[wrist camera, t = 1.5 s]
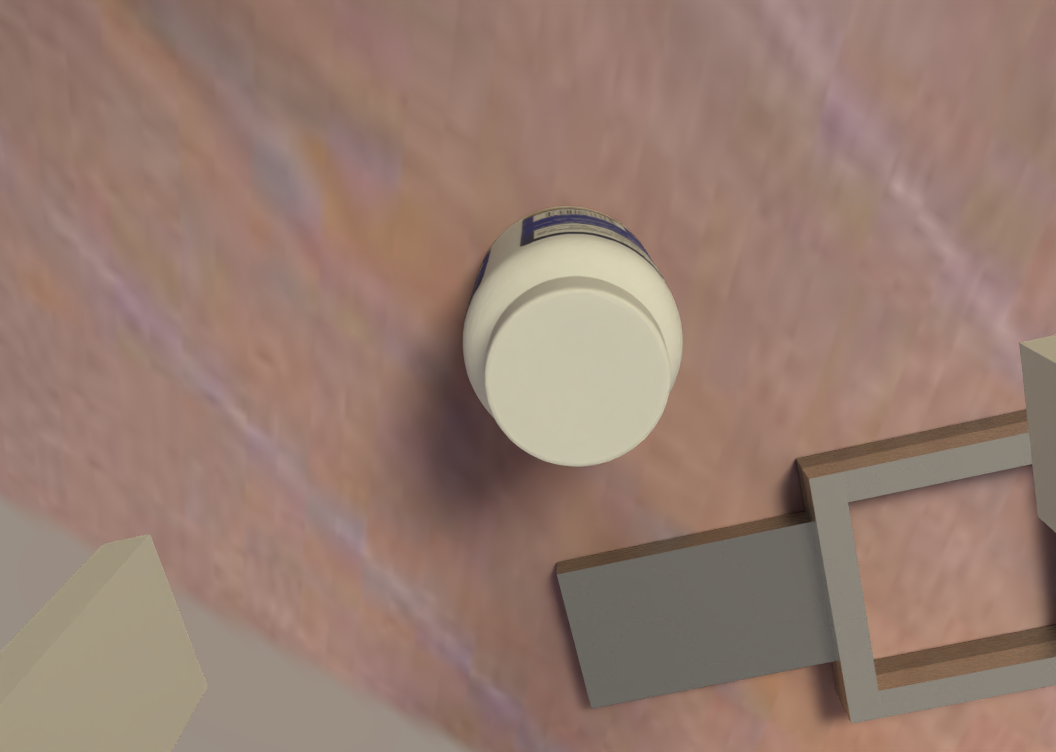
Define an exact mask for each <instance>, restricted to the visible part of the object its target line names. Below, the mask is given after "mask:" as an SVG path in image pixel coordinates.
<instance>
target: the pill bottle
mask: <svg viewBox="0 0 1056 752" xmlns="http://www.w3.org/2000/svg"><path fill="white" fill-rule="evenodd" d="M682 349H683V337H682V327H681V321H680V316H679V312H678V309H677V306H676V303H675V301H674V298H673V296H672V294H671V291H670V290H669V288H668V286H667V284H666V282H665V280H664V279H663V277H662V275H661V274H660V272H659V271H658V269H657V267H656V266H655V264H654V263H653V261H652V260H651V258H650V257H649V255H648V253H647V252H646V250H645V249H644V247H643V246H642V244H641V243H640V242H639V240H638V239H637V238H636V237H635V236H634V235H633V234H632V233H631V232H630V231H629V230H628V229H627V228H626V227H625V226H623V225H622V224H621V223H620V222H618V221H616V220H615V219H613V218H611V217H610V216H608V215H605V214H603V213H601V212H598V211H595V210H592V209H587V208H582V207H574V206H561V207H553V208H547V209H544V210H540V211H538V212H535V213H532V214H530V215H528V216H526V217H524V218H522V219H521V220H519V221H517V222H516V223H514V224H513V225H512V226H510V227H509V228H507V229H506V230H505V231H504V232H503V233H502V234H501V235H500V236H499V237H498V239H497V240H496V241H495V242H494V244H493V245H492V246H491V248H490V249H489V251H488V253H487V255H486V257H485V259H484V261H483V263H482V265H481V268H480V270H479V273H478V276H477V280H476V283H475V286H474V289H473V293H472V296H471V299H470V303H469V306H468V309H467V313H466V317H465V322H464V327H463V355H464V362H465V367H466V371H467V375H468V378H469V380H470V383H471V385H472V387H473V389H474V391H475V393H476V395H477V397H478V398H479V400H480V401H481V403H482V404H483V406H484V407H485V408H486V410H487V411H488V412H489V414H490V415H491V416H492V417H493V418H494V419H495V421H496V423H497V424H498V425H499V427H500V428H501V430H502V431H503V432H504V433H505V435H506V436H507V437H508V438H509V439H510V440H511V441H512V442H513V443H514V444H516V445H517V446H518V447H519V448H521V449H522V450H524V451H525V452H527V453H528V454H530V455H532V456H534V457H536V458H538V459H540V460H543V461H546V462H549V463H553V464H557V465H563V466H572V467H582V466H592V465H597V464H601V463H605V462H608V461H611V460H613V459H616V458H618V457H620V456H622V455H624V454H626V453H627V452H629V451H630V450H632V449H633V448H635V447H636V446H637V445H638V444H639V443H641V442H642V441H643V440H644V439H645V438H646V437H647V436H648V435H649V434H650V432H651V431H652V430H653V428H654V427H655V426H656V424H657V423H658V421H659V419H660V417H661V415H662V414H663V411H664V409H665V407H666V403H667V400H668V396H669V393H670V391H671V390H672V388H673V385H674V383H675V380H676V377H677V374H678V371H679V367H680V363H681V358H682Z"/></svg>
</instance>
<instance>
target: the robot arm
mask: <svg viewBox="0 0 1056 752" xmlns="http://www.w3.org/2000/svg"><path fill="white" fill-rule="evenodd" d="M1019 345H1020V354H1021V364H1022V373H1023V382H1024V392H1025V401H1026V410H1027V420H1028V429H1029V439H1030V448H1031V457H1032V467H1033V476H1034V485H1035V495H1036V504H1037V514H1038V517H1039V518H1040V519H1041V520H1042V521H1043V522H1044V523H1045V524H1047V525H1048V526H1049V527H1050V528H1051V529H1052V530H1053V531H1054V532H1056V335H1053V336H1048V337H1044V338H1039V339H1035V340H1030V341H1025V342H1021V343H1019ZM207 687H208V686H207V683H206V680H205V678H204V675H203V673H202V670H201V667H200V665H199V662H198V660H197V657H196V654H195V652H194V649H193V646H192V644H191V641H190V638H189V636H188V633H187V630H186V628H185V625H184V623H183V620H182V617H181V615H180V612H179V609H178V607H177V604H176V601H175V599H174V596H173V594H172V591H171V588H170V586H169V583H168V580H167V578H166V575H165V572H164V570H163V567H162V565H161V562H160V559H159V557H158V554H157V551H156V549H155V546H154V543H153V541H152V538H151V536H150V534H147V535H142V536H138V537H133V538H129V539H124V540H120V541H115V542H111V543H106V544H103V545H102V546H101V547H100V548H99V549H98V550H97V551H96V552H95V553H94V554H93V555H92V556H91V557H90V558H89V559H88V561H86V562H85V563H84V565H83V566H82V567H81V568H80V569H79V570H78V571H77V572H76V573H75V574H74V575H73V576H72V577H71V578H70V579H69V580H68V581H67V582H66V583H65V584H64V585H63V586H62V588H61V589H60V590H59V591H58V592H57V593H56V594H55V595H54V596H53V597H52V598H51V599H50V600H49V601H48V602H47V603H46V604H45V605H44V606H43V607H42V608H41V610H40V611H39V612H38V613H37V614H36V615H35V616H34V617H33V618H32V619H31V620H30V621H29V622H28V623H27V624H26V625H25V626H24V627H23V628H22V629H21V630H20V631H19V633H18V634H17V635H16V636H15V637H14V638H13V639H12V640H11V641H10V642H9V643H8V644H7V645H6V646H5V647H4V648H3V649H2V650H1V651H0V752H172V750H173V748H174V746H175V745H176V743H177V741H178V739H179V737H180V736H181V733H182V732H183V730H184V729H185V727H186V725H187V723H188V721H189V720H190V718H191V716H192V714H193V712H194V711H195V709H196V707H197V705H198V704H199V702H200V700H201V698H202V696H203V695H204V693H205V691H206V689H207Z"/></svg>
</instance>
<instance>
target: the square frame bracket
mask: <svg viewBox="0 0 1056 752" xmlns="http://www.w3.org/2000/svg"><path fill="white" fill-rule="evenodd" d="M796 462H797V467H798V473H799V479H800V484H801V490H802V496H803V502H804V507H805V511H802V512H797V513H792V514H788V515H783V516H778V517H773V518H768V519H764V520H759V521H754V522H749V523H744V524H740V525H735V526H730V527H725V528H720V529H716V530H711V531H706V532H701V533H696V534H692V535H687V536H682V537H677V538H672V539H668V540H663V541H658V542H653V543H648V544H644V545H639V546H634V547H629V548H625V549H620V550H615V551H610V552H605V553H601V554H596V555H591V556H586V557H581V558H577V559H572V560H567V561H562V562H557V578H558V581H559V585H560V589H561V593H562V597H563V601H564V605H565V608H566V612H567V616H568V620H569V624H570V628H571V632H572V636H573V639H574V643H575V647H576V651H577V655H578V659H579V663H580V667H581V670H582V674H583V678H584V682H585V686H586V690H587V694H588V697H589V701H590V705H591V709H592V708H597V707H603V706H608V705H613V704H618V703H623V702H628V701H633V700H639V699H644V698H649V697H654V696H659V695H664V694H669V693H674V692H680V691H685V690H690V689H695V688H700V687H705V686H710V685H715V684H721V683H726V682H731V681H736V680H741V679H746V678H751V677H756V676H762V675H767V674H772V673H777V672H782V671H787V670H792V669H798V668H803V667H808V666H813V665H818V664H823V663H828V662H832V667H833V672H834V678H835V684H836V690H837V694H838V696H839V698H840V701H841V703H842V705H843V707H844V709H845V711H846V713H847V716H848V718H849V720H850V722H851V724H852V723H857V722H862V721H867V720H873V719H878V718H883V717H889V716H894V715H899V714H904V713H910V712H915V711H920V710H926V709H931V708H936V707H941V706H947V705H952V704H957V703H963V702H968V701H973V700H978V699H984V698H989V697H994V696H999V695H1005V694H1010V693H1015V692H1021V691H1026V690H1031V689H1036V688H1042V687H1047V686H1052V685H1056V625H1051V626H1046V627H1041V628H1036V629H1031V630H1026V631H1020V632H1015V633H1010V634H1005V635H1000V636H995V637H990V638H984V639H979V640H974V641H969V642H964V643H959V644H954V645H948V646H943V647H938V648H933V649H928V650H923V651H918V652H912V653H907V654H902V655H897V656H892V657H887V658H882V659H876V660H873V654H872V648H871V641H870V635H869V629H868V623H867V617H866V611H865V604H864V598H863V592H862V586H861V580H860V573H859V567H858V561H857V555H856V549H855V542H854V536H853V530H852V524H851V518H850V512H849V505H848V502H852V501H857V500H862V499H867V498H872V497H876V496H881V495H886V494H891V493H896V492H900V491H905V490H910V489H915V488H920V487H924V486H929V485H934V484H939V483H944V482H948V481H953V480H958V479H963V478H968V477H972V476H977V475H982V474H987V473H992V472H996V471H1001V470H1006V469H1011V468H1016V467H1020V466H1025V465H1030V464H1032V457H1031V448H1030V439H1029V429H1028V420H1027V410H1022V411H1018V412H1013V413H1008V414H1004V415H999V416H994V417H989V418H985V419H980V420H975V421H971V422H966V423H961V424H957V425H952V426H947V427H943V428H938V429H933V430H928V431H924V432H919V433H914V434H910V435H905V436H900V437H896V438H891V439H886V440H882V441H877V442H872V443H867V444H863V445H858V446H853V447H849V448H844V449H839V450H835V451H830V452H825V453H821V454H816V455H811V456H806V457H802V458H797V459H796Z"/></svg>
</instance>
